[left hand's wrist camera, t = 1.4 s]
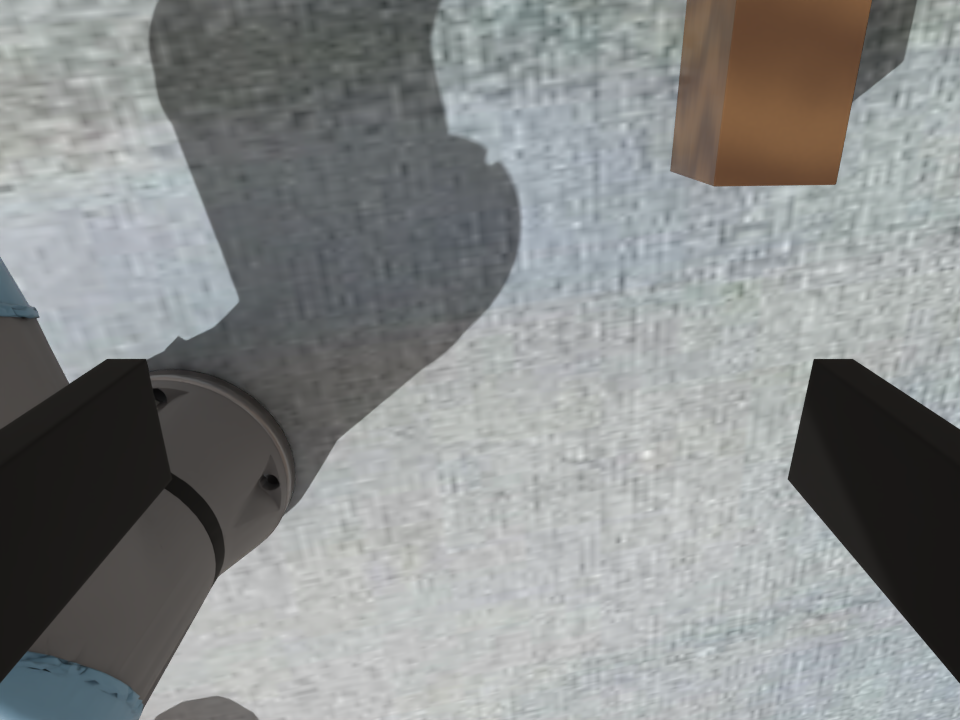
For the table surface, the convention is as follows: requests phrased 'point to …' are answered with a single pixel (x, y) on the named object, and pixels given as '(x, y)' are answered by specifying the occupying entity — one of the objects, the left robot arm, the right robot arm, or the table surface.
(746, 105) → the bar
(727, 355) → the table surface
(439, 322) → the table surface
